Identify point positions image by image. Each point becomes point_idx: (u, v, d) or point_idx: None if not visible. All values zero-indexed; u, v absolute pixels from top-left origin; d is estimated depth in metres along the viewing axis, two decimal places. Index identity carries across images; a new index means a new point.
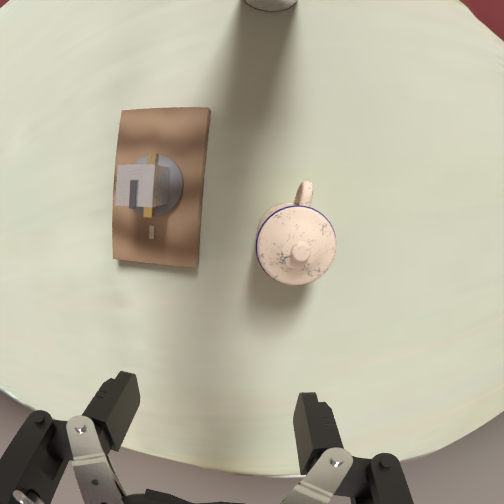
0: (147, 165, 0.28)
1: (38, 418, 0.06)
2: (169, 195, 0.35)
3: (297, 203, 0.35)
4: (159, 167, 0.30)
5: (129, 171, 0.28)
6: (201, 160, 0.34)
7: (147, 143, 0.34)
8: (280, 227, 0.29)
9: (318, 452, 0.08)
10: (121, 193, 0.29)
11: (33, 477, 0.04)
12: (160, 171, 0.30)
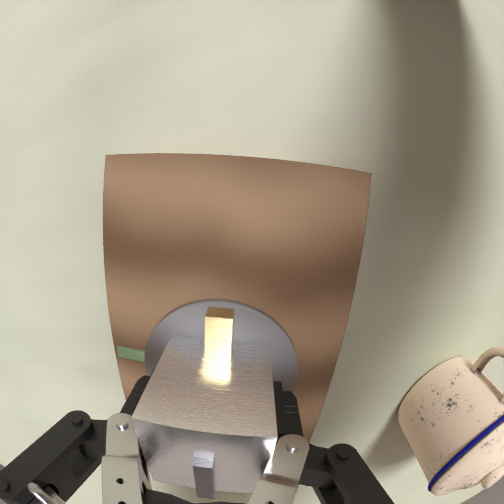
0: (248, 437, 0.07)
1: (76, 419, 0.07)
2: None
3: None
4: (273, 405, 0.09)
5: (180, 441, 0.07)
6: (345, 317, 0.14)
7: (191, 264, 0.13)
8: (483, 457, 0.08)
9: None
10: (165, 469, 0.08)
11: (56, 473, 0.05)
12: None
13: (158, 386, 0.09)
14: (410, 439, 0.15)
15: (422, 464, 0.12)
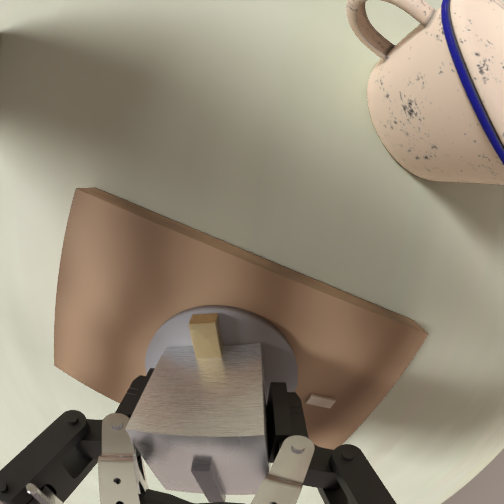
0: (235, 438, 0.07)
1: (71, 418, 0.07)
2: None
3: (383, 54, 0.10)
4: (263, 403, 0.09)
5: (174, 447, 0.07)
6: (197, 244, 0.13)
7: (121, 352, 0.14)
8: None
9: (282, 439, 0.09)
10: (172, 477, 0.08)
11: (53, 473, 0.05)
12: None
13: (151, 397, 0.09)
14: (460, 181, 0.10)
15: (499, 184, 0.08)
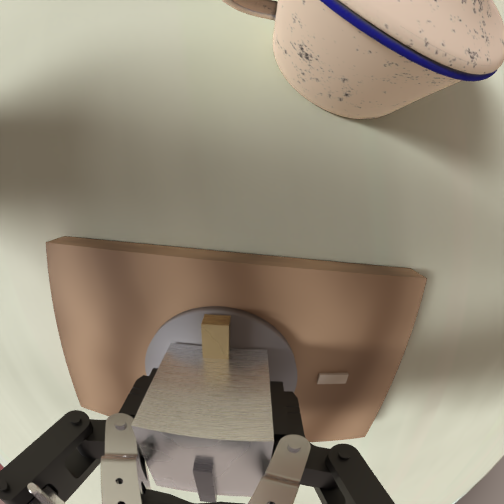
0: (245, 442, 0.07)
1: (75, 419, 0.07)
2: (246, 345, 0.13)
3: (272, 14, 0.10)
4: (271, 410, 0.09)
5: (179, 447, 0.07)
6: (154, 257, 0.13)
7: (128, 377, 0.15)
8: None
9: (278, 438, 0.09)
10: (168, 475, 0.08)
11: (55, 473, 0.05)
12: None
13: (157, 394, 0.09)
14: (396, 105, 0.10)
15: (432, 89, 0.07)
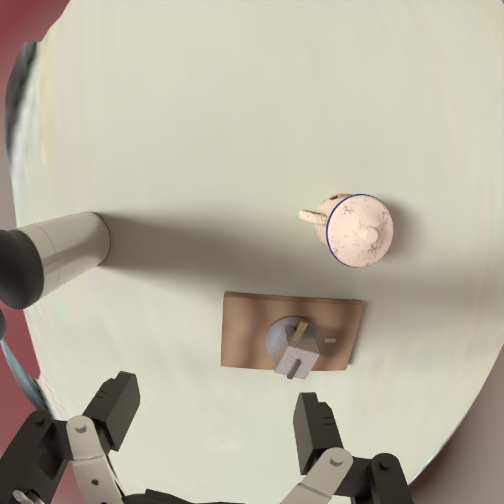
0: (313, 353, 0.35)
1: (38, 418, 0.06)
2: None
3: None
4: (316, 348, 0.37)
5: (296, 353, 0.35)
6: (273, 301, 0.41)
7: (253, 345, 0.43)
8: (346, 250, 0.31)
9: (318, 452, 0.08)
10: (283, 366, 0.36)
11: (33, 477, 0.04)
12: None
13: (289, 339, 0.37)
14: None
15: None
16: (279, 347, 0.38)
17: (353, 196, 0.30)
